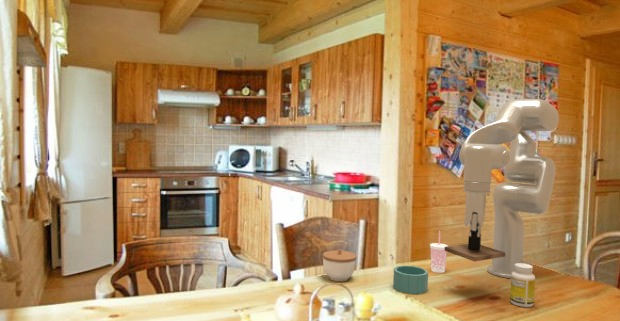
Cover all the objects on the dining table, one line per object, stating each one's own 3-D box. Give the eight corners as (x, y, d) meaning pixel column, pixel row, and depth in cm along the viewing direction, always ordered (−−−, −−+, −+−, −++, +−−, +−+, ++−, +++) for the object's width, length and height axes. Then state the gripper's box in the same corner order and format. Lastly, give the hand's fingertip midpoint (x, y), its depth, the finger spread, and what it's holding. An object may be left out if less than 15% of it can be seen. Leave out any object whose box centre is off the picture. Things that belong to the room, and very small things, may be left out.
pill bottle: (528, 300, 129) (530, 262, 129) (537, 308, 123) (539, 269, 122) (506, 298, 130) (508, 261, 129) (514, 306, 124) (516, 267, 123)
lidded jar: (331, 271, 151) (332, 243, 151) (360, 277, 146) (361, 248, 145) (316, 279, 142) (317, 250, 141) (346, 286, 136) (347, 256, 136)
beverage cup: (449, 273, 152) (451, 233, 152) (430, 272, 153) (432, 232, 152) (444, 268, 158) (446, 229, 158) (427, 267, 159) (429, 228, 158)
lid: (473, 246, 141) (474, 229, 140) (505, 256, 130) (506, 237, 129) (444, 250, 135) (445, 232, 135) (474, 261, 125) (475, 241, 124)
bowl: (412, 281, 143) (413, 264, 143) (433, 291, 134) (434, 273, 134) (386, 284, 139) (387, 267, 138) (407, 295, 130) (408, 277, 130)
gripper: (465, 183, 140) (463, 240, 141) (460, 189, 125) (458, 253, 126) (491, 184, 137) (489, 243, 138) (489, 191, 122) (486, 257, 123)
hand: (474, 247), depth 132 cm, fingers closed on lid, 3 cm apart
